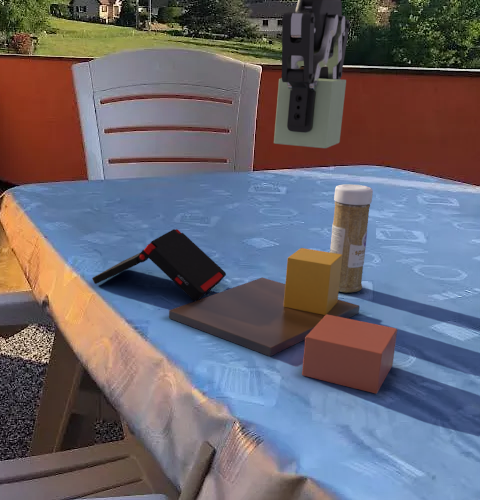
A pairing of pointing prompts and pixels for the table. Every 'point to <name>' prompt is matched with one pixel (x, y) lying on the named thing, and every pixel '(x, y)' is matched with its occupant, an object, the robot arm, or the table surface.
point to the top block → (312, 280)
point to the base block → (349, 353)
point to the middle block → (324, 119)
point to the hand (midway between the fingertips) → (308, 128)
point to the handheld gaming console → (175, 264)
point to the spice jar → (351, 233)
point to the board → (255, 316)
